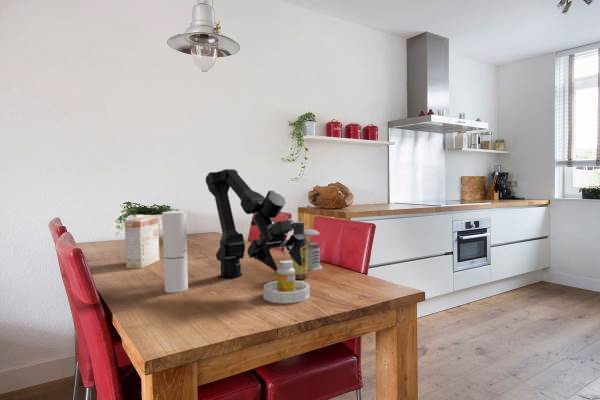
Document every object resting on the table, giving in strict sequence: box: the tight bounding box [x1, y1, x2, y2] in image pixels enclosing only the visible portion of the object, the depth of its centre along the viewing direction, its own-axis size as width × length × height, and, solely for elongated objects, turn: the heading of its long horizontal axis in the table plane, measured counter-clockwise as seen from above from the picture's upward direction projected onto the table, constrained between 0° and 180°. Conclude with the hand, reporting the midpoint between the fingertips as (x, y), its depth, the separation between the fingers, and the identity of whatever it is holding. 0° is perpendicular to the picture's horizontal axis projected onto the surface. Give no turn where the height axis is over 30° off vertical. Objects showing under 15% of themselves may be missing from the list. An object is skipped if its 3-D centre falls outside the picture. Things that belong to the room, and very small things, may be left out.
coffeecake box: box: [124, 216, 160, 269], centre depth 162 cm, size 15×7×20 cm, turn 172°
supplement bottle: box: [276, 259, 296, 292], centre depth 116 cm, size 5×5×10 cm
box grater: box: [304, 204, 323, 271], centre depth 152 cm, size 10×12×25 cm
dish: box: [262, 280, 311, 304], centre depth 116 cm, size 14×14×3 cm
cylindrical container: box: [162, 210, 189, 294], centre depth 124 cm, size 7×7×25 cm
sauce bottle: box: [289, 221, 309, 280], centre depth 137 cm, size 7×6×20 cm
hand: (289, 267), depth 114 cm, fingers open, 9 cm apart
